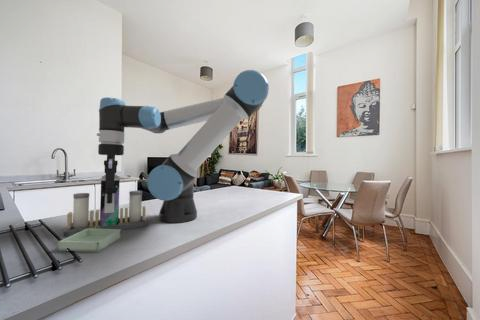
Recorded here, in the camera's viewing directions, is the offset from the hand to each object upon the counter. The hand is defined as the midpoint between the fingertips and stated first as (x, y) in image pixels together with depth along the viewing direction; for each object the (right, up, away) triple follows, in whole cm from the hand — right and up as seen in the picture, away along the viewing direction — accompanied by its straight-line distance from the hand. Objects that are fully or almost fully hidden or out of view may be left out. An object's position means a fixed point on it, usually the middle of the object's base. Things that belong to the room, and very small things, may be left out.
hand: (109, 210), depth 72 cm
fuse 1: (-7, -6, -4) cm, 10 cm away
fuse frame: (0, -6, 0) cm, 6 cm away
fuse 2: (+7, -6, +4) cm, 10 cm away
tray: (+4, -6, -14) cm, 16 cm away
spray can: (0, -6, 0) cm, 6 cm away
